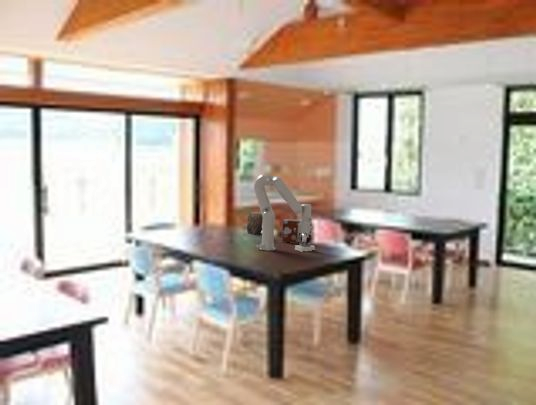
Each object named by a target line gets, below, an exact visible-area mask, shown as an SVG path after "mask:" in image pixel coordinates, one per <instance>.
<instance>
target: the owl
mask: <svg viewBox="0 0 536 405" xmlns="http://www.w3.org/2000/svg"><path fill="white" fill-rule="evenodd" d="M248 213H249V214H248V216H247V225H246V231H247V234H249V235H254V236H256V235H262V222H263V216H262V213H261V211H249V212H248ZM255 234H256V235H255Z"/></svg>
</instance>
